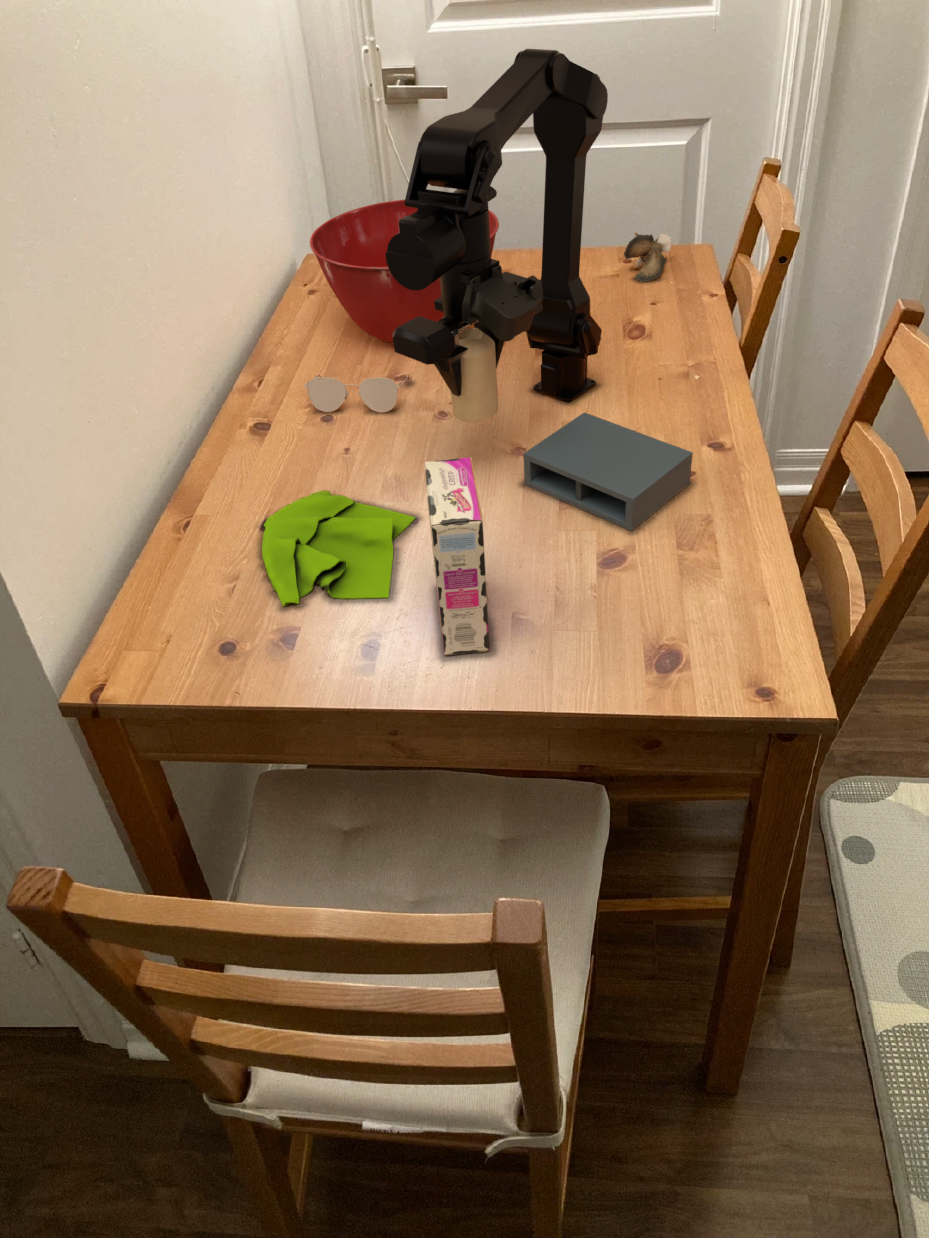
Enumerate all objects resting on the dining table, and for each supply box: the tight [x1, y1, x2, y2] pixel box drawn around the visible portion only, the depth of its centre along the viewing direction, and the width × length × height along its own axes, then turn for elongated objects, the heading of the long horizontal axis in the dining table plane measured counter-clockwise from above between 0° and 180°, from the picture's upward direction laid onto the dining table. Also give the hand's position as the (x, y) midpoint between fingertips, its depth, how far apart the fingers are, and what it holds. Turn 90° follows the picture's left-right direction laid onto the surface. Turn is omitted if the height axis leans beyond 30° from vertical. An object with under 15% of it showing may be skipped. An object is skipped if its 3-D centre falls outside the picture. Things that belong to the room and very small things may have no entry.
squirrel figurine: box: [623, 232, 673, 283], centre depth 164 cm, size 8×7×9 cm
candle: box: [450, 327, 499, 423], centre depth 114 cm, size 6×6×10 cm
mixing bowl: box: [309, 199, 500, 345], centre depth 151 cm, size 28×28×16 cm
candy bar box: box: [424, 457, 491, 656], centre depth 97 cm, size 11×5×16 cm, turn 5°
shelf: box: [523, 412, 693, 532], centre depth 118 cm, size 12×16×4 cm
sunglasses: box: [303, 374, 411, 414], centre depth 139 cm, size 14×8×5 cm, turn 82°
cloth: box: [261, 490, 416, 607], centre depth 112 cm, size 20×22×2 cm
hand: (473, 385), depth 115 cm, fingers closed on candle, 5 cm apart
